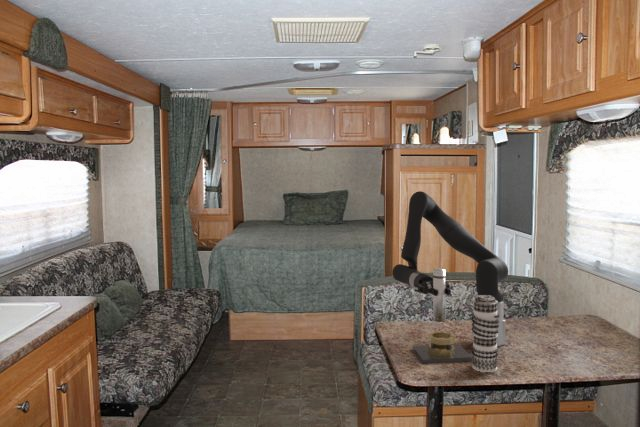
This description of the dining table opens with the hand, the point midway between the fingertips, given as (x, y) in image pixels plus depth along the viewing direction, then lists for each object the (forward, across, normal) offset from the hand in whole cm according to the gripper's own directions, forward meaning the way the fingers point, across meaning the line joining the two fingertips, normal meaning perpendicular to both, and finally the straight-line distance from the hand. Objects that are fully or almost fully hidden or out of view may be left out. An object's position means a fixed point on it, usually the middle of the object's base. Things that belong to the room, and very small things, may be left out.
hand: (442, 292), depth 182 cm
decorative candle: (+13, +9, +24) cm, 29 cm away
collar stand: (-1, 0, +24) cm, 24 cm away
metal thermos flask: (-3, 0, +11) cm, 11 cm away
